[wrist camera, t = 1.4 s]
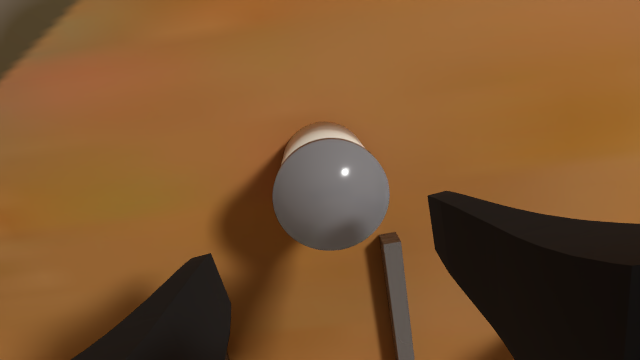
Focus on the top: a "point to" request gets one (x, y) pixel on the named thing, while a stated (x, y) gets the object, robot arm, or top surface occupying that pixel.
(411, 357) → the lane
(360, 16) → the top surface
